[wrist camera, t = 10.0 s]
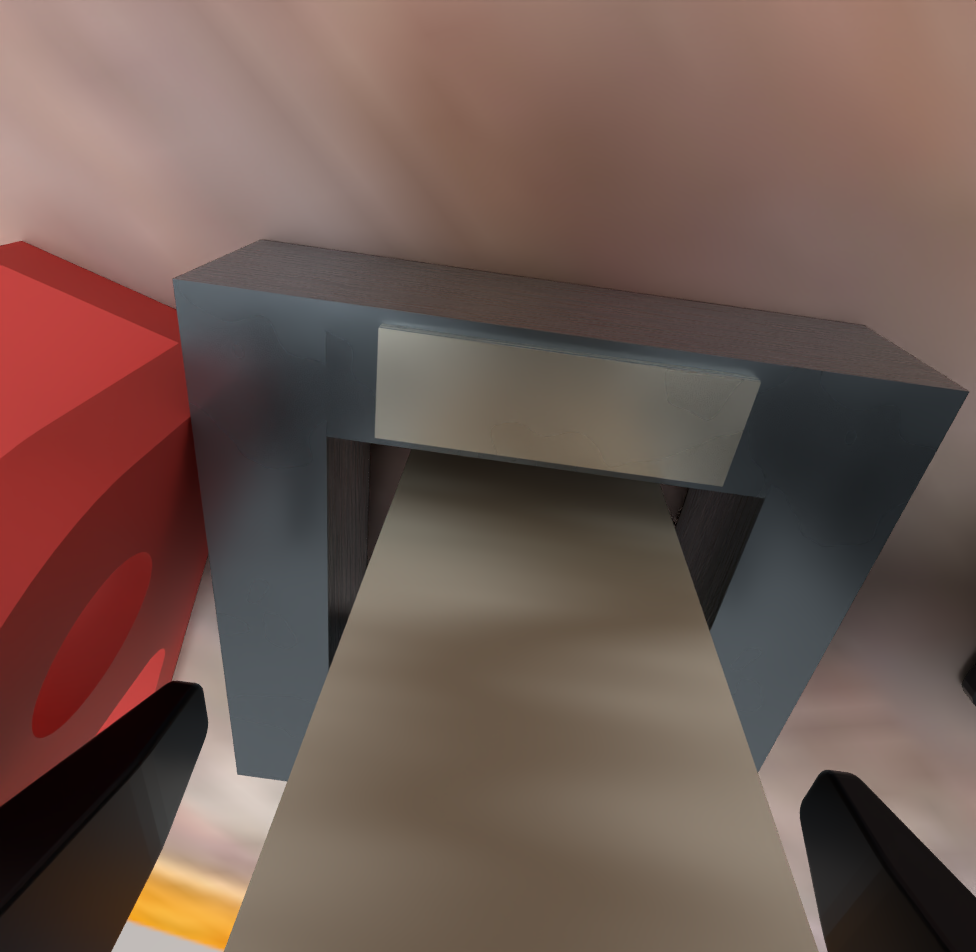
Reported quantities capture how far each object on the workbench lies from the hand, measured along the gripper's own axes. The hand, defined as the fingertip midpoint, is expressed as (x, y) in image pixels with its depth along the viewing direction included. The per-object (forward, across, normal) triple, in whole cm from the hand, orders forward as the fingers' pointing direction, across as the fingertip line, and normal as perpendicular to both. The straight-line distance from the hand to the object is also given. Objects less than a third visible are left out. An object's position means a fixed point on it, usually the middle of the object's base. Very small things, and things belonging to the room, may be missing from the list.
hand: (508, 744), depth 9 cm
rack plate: (+5, 0, 0) cm, 5 cm away
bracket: (+6, +9, +2) cm, 11 cm away
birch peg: (+5, 0, 0) cm, 5 cm away
